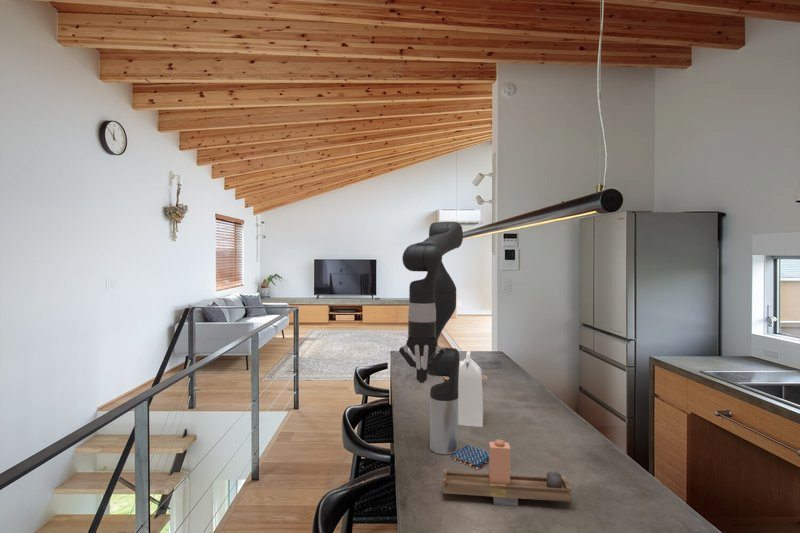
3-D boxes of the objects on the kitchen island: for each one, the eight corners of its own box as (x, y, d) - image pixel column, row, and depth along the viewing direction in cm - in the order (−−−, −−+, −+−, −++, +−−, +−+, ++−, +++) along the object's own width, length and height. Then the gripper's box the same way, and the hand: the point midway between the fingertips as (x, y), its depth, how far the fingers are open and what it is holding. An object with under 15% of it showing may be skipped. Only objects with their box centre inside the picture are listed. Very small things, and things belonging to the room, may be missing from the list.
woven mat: (467, 449, 140) (467, 443, 140) (496, 459, 133) (496, 453, 133) (449, 460, 132) (449, 454, 132) (478, 472, 125) (478, 465, 125)
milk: (482, 426, 158) (483, 357, 157) (451, 424, 160) (452, 355, 159) (483, 414, 169) (483, 350, 169) (454, 412, 172) (454, 348, 171)
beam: (443, 487, 116) (443, 462, 116) (564, 495, 112) (564, 469, 112) (442, 501, 110) (443, 474, 110) (571, 509, 106) (571, 482, 106)
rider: (488, 478, 113) (489, 437, 113) (507, 479, 113) (508, 438, 112) (490, 485, 110) (490, 443, 109) (509, 487, 109) (510, 444, 109)
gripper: (446, 317, 118) (446, 379, 119) (399, 316, 120) (399, 377, 120) (446, 321, 111) (446, 387, 111) (396, 320, 112) (396, 385, 113)
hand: (421, 382), depth 116 cm, fingers closed
